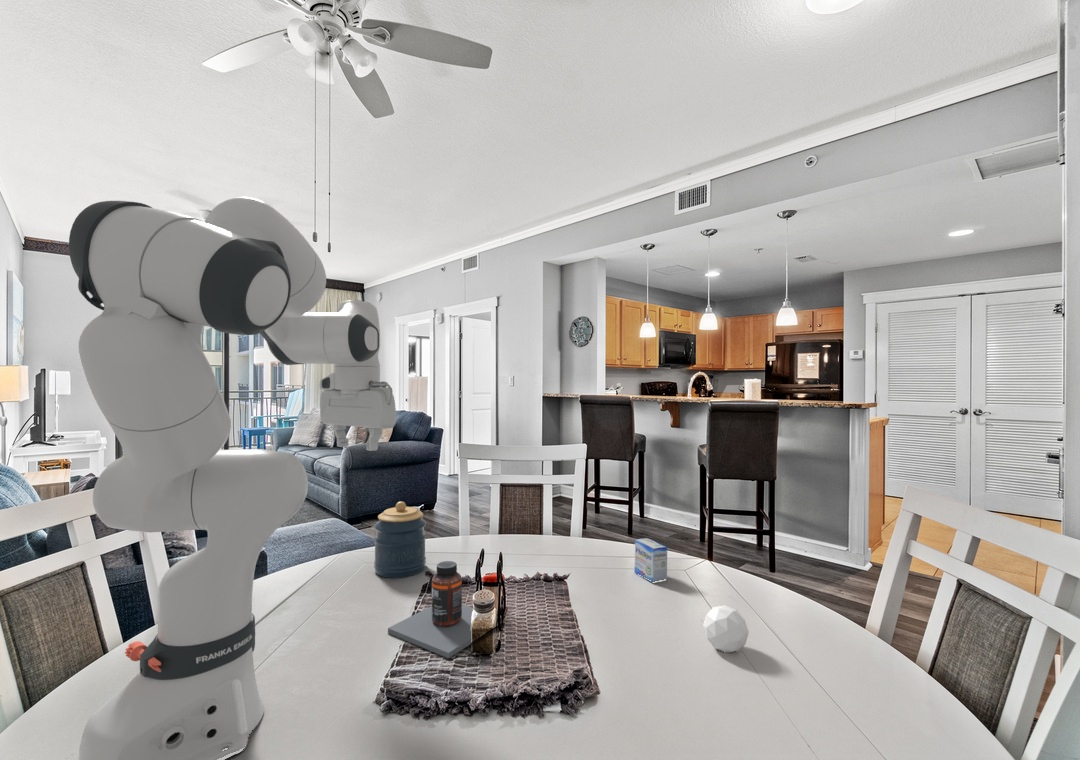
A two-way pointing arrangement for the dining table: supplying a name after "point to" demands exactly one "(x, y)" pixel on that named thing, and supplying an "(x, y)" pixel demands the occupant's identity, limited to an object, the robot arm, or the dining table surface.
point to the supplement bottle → (446, 594)
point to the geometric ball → (725, 628)
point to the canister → (400, 542)
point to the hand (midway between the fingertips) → (356, 448)
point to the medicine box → (650, 559)
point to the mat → (435, 632)
